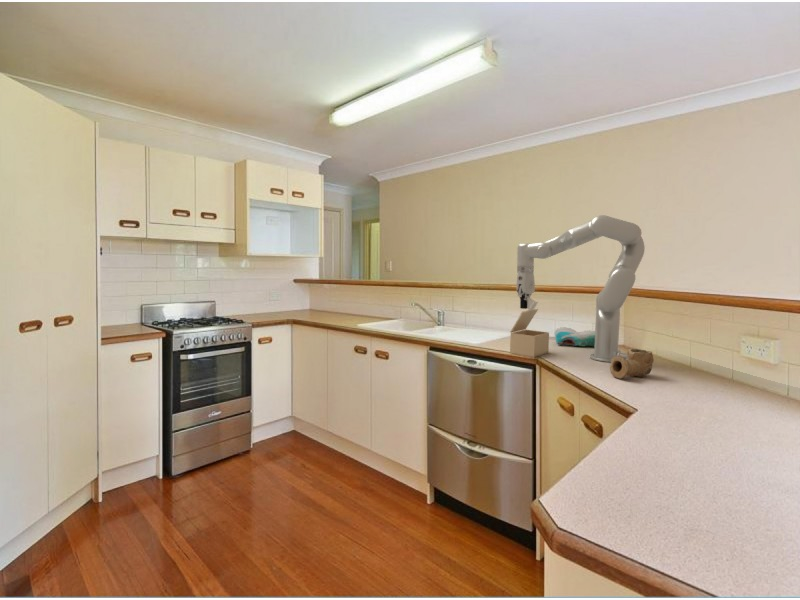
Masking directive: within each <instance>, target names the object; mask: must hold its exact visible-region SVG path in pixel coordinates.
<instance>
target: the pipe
mask: <svg viewBox="0 0 800 600" xmlns="http://www.w3.org/2000/svg"><path fill="white" fill-rule="evenodd" d="M627 354H628V359H625V358H624V357H622V356H615V357H614V358H613V359H612V361H611V362H610V364H609V365H610V366H609V371H610V374H611V375H612V376H613V377H614V378H616V379H620V380H621V379H624V378H626V377H631V376H634V377H639V378H640V377H641V378H642V377H646V376H647V375H650V373H651V371H652V369H653V363H654V361H655V360H654V355H653V351H648V350H645V349H638V348H628V349H627Z"/></svg>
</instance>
